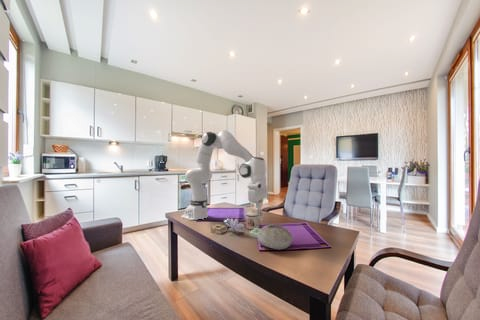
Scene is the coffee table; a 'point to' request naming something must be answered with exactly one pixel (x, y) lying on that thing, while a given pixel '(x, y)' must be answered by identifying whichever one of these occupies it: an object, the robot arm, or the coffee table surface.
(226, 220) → the pulley
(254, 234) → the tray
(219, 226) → the tensioner block
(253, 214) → the teacup with lid
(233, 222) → the water lily
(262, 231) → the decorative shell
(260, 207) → the lock pin
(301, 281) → the coffee table surface
